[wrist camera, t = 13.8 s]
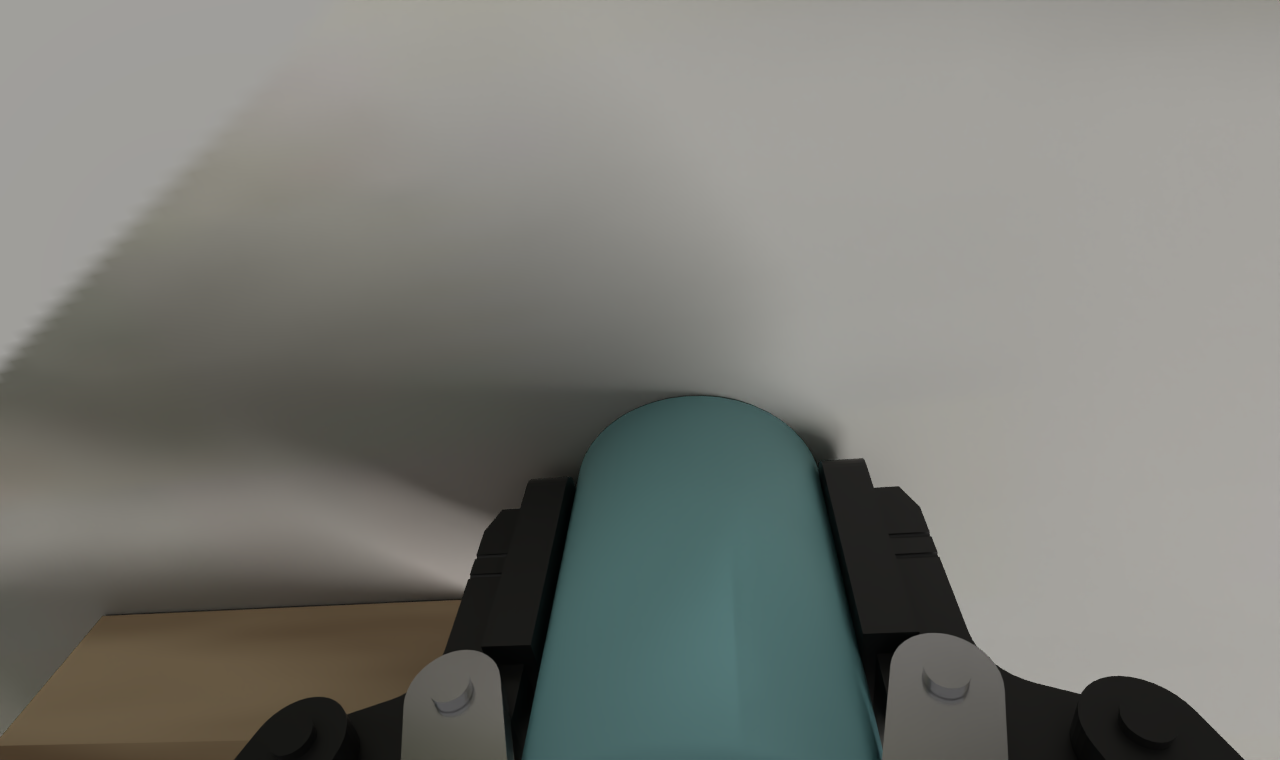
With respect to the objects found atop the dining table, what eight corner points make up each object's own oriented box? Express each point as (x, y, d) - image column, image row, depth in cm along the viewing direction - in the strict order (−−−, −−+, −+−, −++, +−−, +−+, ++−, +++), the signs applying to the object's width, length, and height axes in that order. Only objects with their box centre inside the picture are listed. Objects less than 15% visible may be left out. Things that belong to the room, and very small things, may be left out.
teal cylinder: (820, 574, 14) (893, 942, 9) (599, 584, 15) (549, 938, 9) (820, 386, 12) (918, 740, 7) (556, 406, 12) (461, 748, 7)
